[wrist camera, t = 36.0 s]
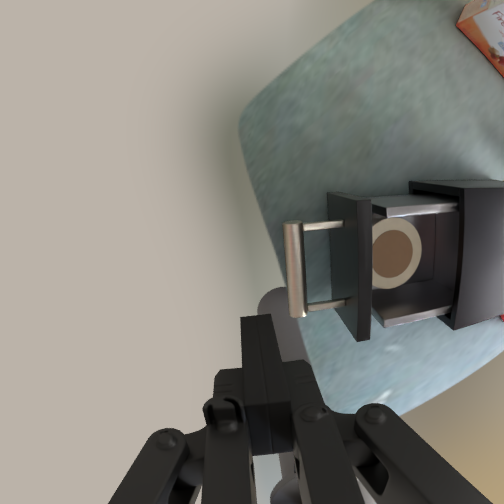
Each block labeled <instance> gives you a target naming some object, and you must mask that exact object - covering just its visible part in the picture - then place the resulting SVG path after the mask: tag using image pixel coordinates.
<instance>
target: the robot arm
mask: <svg viewBox="0 0 504 504" xmlns="http://www.w3.org/2000/svg"><path fill="white" fill-rule="evenodd" d="M240 318H241V346H242V368H235V369H222V370H220V371H219V372H218V373H217V375H216V376H215V380H214V391H213V392H214V393H213V398H211V399H209V400H208V401H207V402H206V403H205V404H204V406H203V413H204V417H205V420H206V424H207V425H206V426H205V427H204V428H203V429H201V430H199V431H196V432H193V433H190V434H185V435H184V434H183V433H182V432H181V431H180V430H177V429H174V428H165V429H161V430H158V431H156V432H154V433H153V434H152V435H151V436H150V437H149V438H148V440H147V441H146V443H145V445H144V447H143V448H142V450H141V451H140V453H139V455H138V456H137V458H136V460H135V461H134V463H133V464H132V466H131V468H130V469H129V471H128V472H127V474H126V476H125V477H124V479H123V480H122V482H121V484H120V485H119V487H118V488H117V490H116V492H115V493H114V495H113V496H112V498H111V500H110V501H109V503H108V504H195V501H196V499H197V497H198V494H199V491H200V489H201V486H202V499H201V504H257V498H256V487H255V475H254V474H255V473H254V464H253V458H252V456H257V455H267V454H275V453H284V452H291V451H294V473H296V474H297V479H298V485H299V490H300V495H301V500H302V504H493V503H491V502H490V501H489V500H488V499H487V498H486V497H485V496H484V495H483V494H481V492H479V491H478V490H477V489H476V488H475V487H474V486H473V485H472V484H471V483H470V482H468V481H467V480H466V479H465V478H464V477H463V476H462V475H461V474H460V473H459V472H458V471H457V470H455V469H454V468H453V467H452V466H451V465H450V464H449V463H448V462H447V461H446V460H445V459H444V458H443V457H441V456H440V455H439V454H438V453H437V452H436V451H435V450H434V449H433V448H432V447H431V446H430V445H429V444H428V443H426V442H425V441H424V440H423V439H422V438H421V437H420V436H419V435H418V434H417V433H416V432H415V431H414V430H413V429H412V428H410V427H409V426H408V425H407V424H406V423H405V422H404V421H403V420H402V419H401V418H400V417H399V416H398V415H397V414H396V413H395V412H394V411H393V410H392V409H390V408H389V407H387V406H386V405H383V404H379V403H371V404H367V405H364V406H363V407H361V408H359V410H358V411H357V412H356V414H343V413H337V412H334V411H332V410H331V409H330V408H329V407H328V406H326V405H325V403H324V401H323V398H322V395H321V393H320V390H319V387H318V384H317V382H316V379H315V376H314V374H313V371H312V368H311V365H309V364H308V363H307V362H306V361H305V360H296V361H289V362H282V360H281V356H280V351H279V347H278V343H277V339H276V334H275V330H274V326H273V322H272V317H271V314H265V315H256V316H247V317H240Z"/></svg>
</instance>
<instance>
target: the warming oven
mask: <svg viewBox="0 0 504 504" xmlns="http://www.w3.org/2000/svg"><path fill="white" fill-rule="evenodd" d="M430 193H439V194H444V195H450V196H455V197H459V239H458V257H457V269H456V280H455V289H454V298H453V305H452V312H451V313H447V314H443V315H439V316H436V317H438V318H439V319H440V320H441V321H442V322H444V323H445V324H446V325H447V326H449V327H450V328H451V329H452V330H457V329H460V328H464V327H467V326H470V325H473V324H476V323H479V322H482V321H485V320H488V319H491V318H494V317H497V316H500V315H503V314H504V181H499V180H424V181H409V195H411V194H430Z"/></svg>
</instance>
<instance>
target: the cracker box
mask: <svg viewBox="0 0 504 504" xmlns="http://www.w3.org/2000/svg"><path fill="white" fill-rule="evenodd" d="M456 26H457V27H458V28H459V29H460V30H461V31H462V32H463V33H464V34H465V35H466V36H467V37H468V38H469V39H470V40H471V41H472V42H473V43H474V44H475V45H476V46H477V47H478V48H479V50H480V51H481V52H482V53H483V54H484V55H485V56H486V57H487V58H488V59H489V61H490V62H491V63H492V64H493V65H494V67H495V68H496V69H497V70H498V71H499V72H500V74H501V75H502V76H503V77H504V0H474V1H472V2H470V3H468V4H467V5H465V7H464V9H463V11H462V13H461V16H460V18H459V20H458V22H457V24H456Z"/></svg>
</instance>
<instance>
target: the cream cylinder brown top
mask: <svg viewBox="0 0 504 504" xmlns="http://www.w3.org/2000/svg"><path fill="white" fill-rule="evenodd" d="M372 236H373V280H372V285H373V286H375V287H378V288H382V289H391V288H395V287H397V286H400V285H402V284H403V283H405V282H406V281H407V280H408V279H409V278H410V277H411V276H412V275H413V274H414V272H415V271H416V269H417V267H418V265H419V262H420V258H421V252H422V245H421V240H420V236H419V234H418V232H417V230H416V229H415V227H414V226H413V225H412V224H411V223H410V222H408V221H406V220H404V219H402V218H399V217H390V218H387V217H384V216H381V215H378V214H375V213H374V214H372Z"/></svg>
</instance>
